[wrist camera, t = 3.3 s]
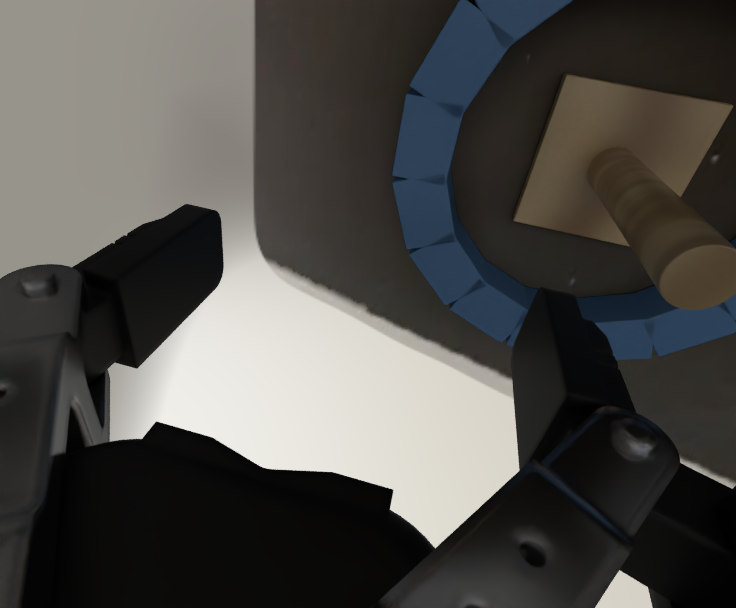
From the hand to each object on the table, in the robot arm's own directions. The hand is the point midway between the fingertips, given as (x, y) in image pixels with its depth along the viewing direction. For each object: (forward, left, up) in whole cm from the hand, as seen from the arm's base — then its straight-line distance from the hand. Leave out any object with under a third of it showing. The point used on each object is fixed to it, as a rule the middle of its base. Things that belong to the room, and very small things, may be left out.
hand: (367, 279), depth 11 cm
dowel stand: (+10, 0, -18) cm, 20 cm away
